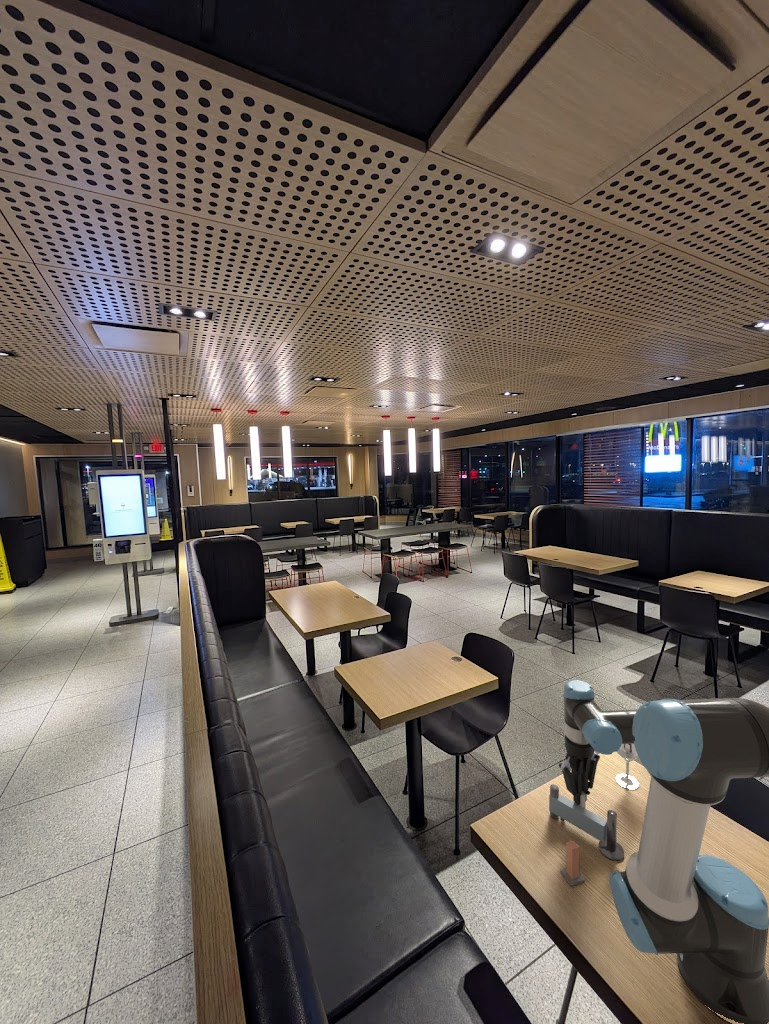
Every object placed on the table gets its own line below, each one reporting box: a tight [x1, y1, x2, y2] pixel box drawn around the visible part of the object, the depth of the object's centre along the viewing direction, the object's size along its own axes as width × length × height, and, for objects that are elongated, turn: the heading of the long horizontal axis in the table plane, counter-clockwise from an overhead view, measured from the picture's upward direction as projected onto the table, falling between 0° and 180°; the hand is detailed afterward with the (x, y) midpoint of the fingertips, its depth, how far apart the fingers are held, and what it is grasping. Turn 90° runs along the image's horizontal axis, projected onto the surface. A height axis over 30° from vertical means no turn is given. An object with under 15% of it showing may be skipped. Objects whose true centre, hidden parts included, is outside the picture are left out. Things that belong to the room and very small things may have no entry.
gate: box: [548, 784, 607, 843], centre depth 117 cm, size 15×2×9 cm, turn 43°
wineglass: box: [615, 744, 640, 791], centre depth 133 cm, size 8×8×18 cm
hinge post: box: [598, 809, 625, 862], centre depth 111 cm, size 6×6×11 cm
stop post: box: [559, 839, 586, 887], centre depth 104 cm, size 4×4×9 cm
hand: (580, 811), depth 119 cm, fingers closed
